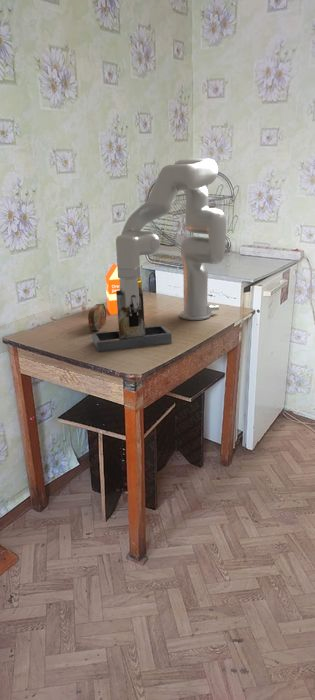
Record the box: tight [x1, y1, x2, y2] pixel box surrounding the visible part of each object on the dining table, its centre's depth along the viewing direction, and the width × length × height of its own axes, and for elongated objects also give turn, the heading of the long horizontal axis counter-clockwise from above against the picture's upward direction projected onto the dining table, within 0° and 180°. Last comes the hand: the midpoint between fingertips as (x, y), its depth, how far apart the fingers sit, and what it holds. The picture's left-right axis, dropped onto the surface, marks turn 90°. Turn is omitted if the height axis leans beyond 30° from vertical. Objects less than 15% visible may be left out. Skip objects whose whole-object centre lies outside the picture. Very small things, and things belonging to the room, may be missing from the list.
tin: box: [87, 303, 107, 332], centre depth 198 cm, size 15×3×8 cm, turn 168°
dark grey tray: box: [91, 324, 173, 353], centre depth 181 cm, size 26×10×4 cm, turn 107°
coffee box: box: [116, 289, 146, 339], centre depth 178 cm, size 9×6×16 cm
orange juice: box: [105, 262, 120, 315], centre depth 216 cm, size 8×9×20 cm
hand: (131, 322), depth 180 cm, fingers closed on coffee box, 7 cm apart
